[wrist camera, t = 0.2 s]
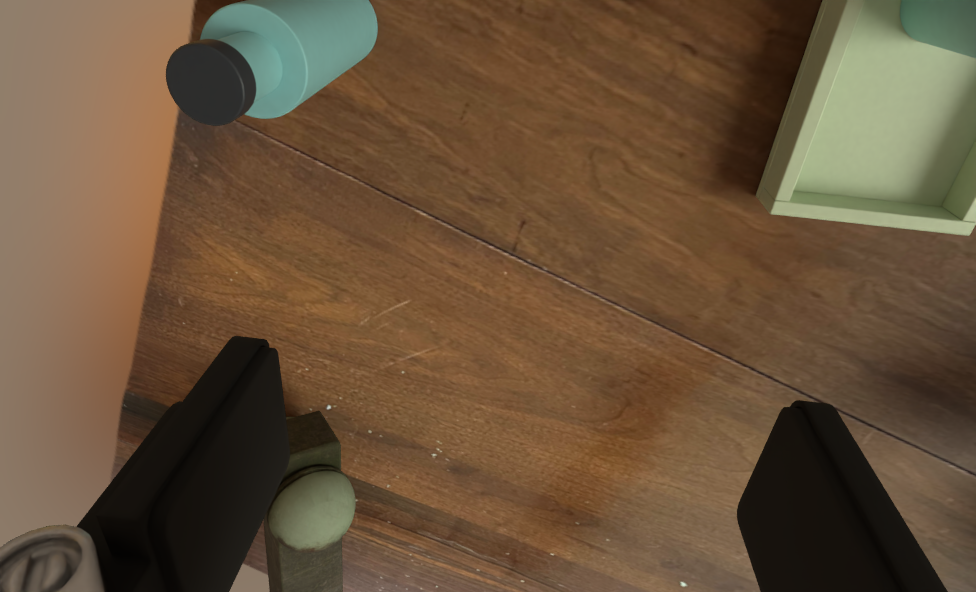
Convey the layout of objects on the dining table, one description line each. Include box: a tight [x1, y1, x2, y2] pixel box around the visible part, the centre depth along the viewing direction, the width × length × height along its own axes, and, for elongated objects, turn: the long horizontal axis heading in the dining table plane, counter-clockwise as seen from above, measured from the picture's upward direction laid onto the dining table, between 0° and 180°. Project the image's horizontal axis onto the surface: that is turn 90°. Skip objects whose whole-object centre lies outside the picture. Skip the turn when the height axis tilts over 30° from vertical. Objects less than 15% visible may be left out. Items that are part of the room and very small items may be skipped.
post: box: [264, 411, 356, 592], centre depth 46 cm, size 11×6×30 cm
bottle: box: [166, 0, 378, 126], centre depth 25 cm, size 4×4×15 cm
